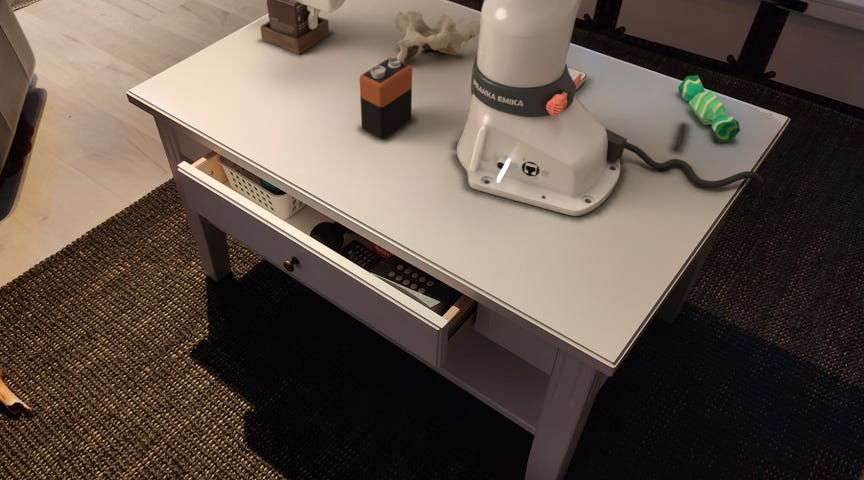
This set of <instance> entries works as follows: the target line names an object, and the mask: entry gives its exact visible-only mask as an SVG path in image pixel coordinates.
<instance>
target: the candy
mask: <svg viewBox="0 0 864 480" xmlns="http://www.w3.org/2000/svg"><path fill="white" fill-rule="evenodd" d="M703 85H704V84H703V83H702V81H701V79H700V75H699V74H695V75H688V76H687V75H686V76H685V78H684V79H683V80H682V82H681V83H680V84H679V85H678V86H677V88H678V92H679V96H680V97H681V98H683V99H684V100H685V101H686V102H688V104H689V106H690V108H691V110H692V112H693V113H694V114H695V116H696V117H697V118H698V119H699V120H700V122H701V123H702V124H703V125H704V126H707V125H711V129H712V130H713V132H714V133H715V136H716V139H717V142H718V144H720V143H729V142H731V141H732V140H733V139H734V138H735V137H736V136H737V135H738V134H739V133H740V132H741V127H740V122H739V121H738V120H737V119H736V118H735V117H733V116H732V115H728V112H727V108H726V106H725V105H724V103H722V101H721V100H720V99H719V97H718V96H716V94H715V93H714V92H713V91H712V90H710V91H706V90H705V88H704V86H703Z"/></svg>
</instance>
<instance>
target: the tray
mask: <svg viewBox="0 0 864 480" xmlns="http://www.w3.org/2000/svg"><path fill="white" fill-rule="evenodd" d="M317 17H318V25H317V27H316V28H314V29H313V30H312V29H311V30H309V31H308V32H306V33H305V34H303V35H302V36H300V37H299V38H294V37H292V36H289V35H286V34H284V33H281V32H278V31H276V30H273V29H270V22H269V21H267V22H265V23H264V24H262V25H261V26H260V33H261V40H262V42H266V43H267V44H270V45H273V46H276V47H278V48H281V49H284V50H286V51H289V52H291V53H294V54H296V55H301V54H302V53H304V52H305V51H307V50H308V49H309V48H311V47H312V46H314V45H315V44H317V43H319V42H320V41H321V40H322V39H324V38H325V37H327V36H328V35H329V34H330V28H329V27H330V25H329V19H326V18H325V17H321V16H319V15H318V16H317Z"/></svg>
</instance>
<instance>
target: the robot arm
mask: <svg viewBox="0 0 864 480" xmlns="http://www.w3.org/2000/svg"><path fill="white" fill-rule="evenodd" d="M294 1H297V2H299V3H301V4H304V5H307V10H308V11H310V14H309V15H308V16H307V17H305V18H304V23H305V27H307V28H309V29H312V30H313V29H314V28H316V27H317V25H318V21H317V16H318V17H319V14H320V13H321V11H322V12H324V13H327V14H332V13H335V12H336V11H337V10H339V9H340V8H342V6H343V5H344V3H345V2H346V0H294ZM265 2H267V0H265ZM582 2H583V0H483V3H482V7H481V12H480V22H479V24H480V32H479V33H478V43H477V44H478V45H477V53H476V55H475V57H474V58H473V64H472V71H471V79H470V80H471V81H470V94H471V100H470V106H469V110H468V115H467V119H466V121H465V126H464V128H463V131H462V134H461V136H460V139H459V140H458V142H457V146H456V156H457V158H458V161H459V163H460V164H461V166H462V168H463V169H465V172H466V173H467V182H468V186H469V187H470V188H472V189H473V190H475V191H479V192H483V193H486V194H490V195H493V196H498V197H501V198H504V199H508V200H512V201H516V202H520V203H522V204H523V203H524V204H526V205H530V206H534V207H538V208H541V209H544V210H549V211H552V212H556V213H560V214H564V215H568V216H572V217H580V216H583V215H585V214H589V213H590V212H592V211H594V210H596V209H597V208H598V207H600V206H601V205H602V204H603V203H604V202H605V201H606V200H607V199H608V197H610V195H611V194H612V192H613V190H614V189H615V188H616V187H617V184H618V182H619V179H620V174H621V161H620V159H621V158H622V157H623V154H624V151H625V150H628V151H630V152H632V153H634V154H635V155H636V156H638V157H639V158H640V159H641V160H642V161H643V162H644V163H645V164H646V165H647V166H649V167H651V168H652V169H655V170H657V171H658V170H659V171H664V170H667V169H669V168H672V167H679V168H681V169H682V170H683V171H684V172H685V173H686V175H687V177H688V179H689V180H690V181H691V182H692V183H693V184H694V185H696V186H699V187H701V188H706V189H717V188H723V187H726V186H729V185H732V184H734V183H737V182H739V181H741V180H745V179H751V180H753V181H755V182H756V183H758V184H759V183H760V184H762V183H764V179H763V178H762V175H760V174H759V173H758V172H756V171H750V170H748V171H747V170H746V171H741V172H738V173H735V174H733V175H731V176H728V177H725V178H722V179H717V180H707V179H705V180H704V179H702V178H700V177H699V176H698V175H697V174H696V172H695V171H694V169H693V168H692V166H691V165H690V164H689V163H688V162H687V161H684V160H683V159H678V158H672V159H669V160H667V161H664V162H658V161H656V160H654V159H653V158H651V156H649V154H647V153H646V152H645V151H644V150H643V149H641V148H640V147H639V146H637V145H635V144H632V143H631V142H628V141H627V140H628V138H626V137H624V136H622V135H620V134H619V133H616V132H614V131H612V130H610V129H607V128H606V127H605V126H604V125H603V124H602V123H601V122H600V120H599V119H597V118H596V117H595V115H594V114H593V113H592V112H591V111H589V109H588V108H587V107H586V106H585V105H584V104H583V102H581V100H579V98H578V97H577V96H575V95H576V90H577V89H576V87H577V86H578V85H579V84H580V81H581V77H582V74H579V76H578V77H577V78H576V79H575V80H574V81H573V79H572V78H571V76H570V74H569V71H568V68H569V67H568V64H567V60H568V59H567V58H568V55H569V49H570V45H571V41H572V36H573V32H574V27H575V23H576V19H577V16H578V12H579V10H580V7H581V4H582Z"/></svg>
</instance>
